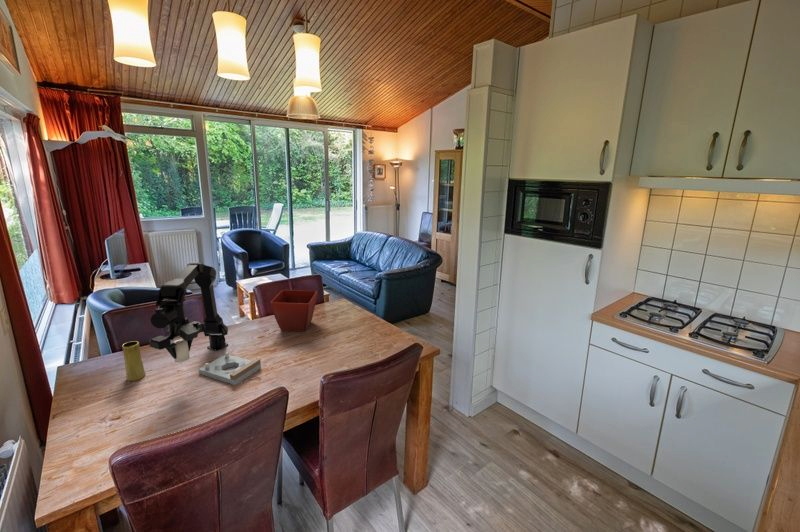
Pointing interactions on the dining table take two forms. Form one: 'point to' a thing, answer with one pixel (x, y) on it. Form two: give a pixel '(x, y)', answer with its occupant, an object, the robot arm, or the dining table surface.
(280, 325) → the plant pot
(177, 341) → the bushing
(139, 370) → the vase
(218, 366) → the jig
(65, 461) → the dining table surface
